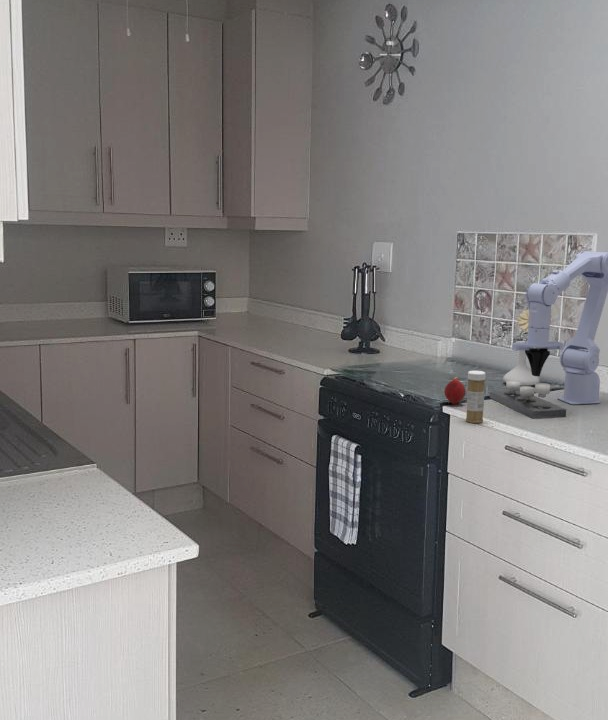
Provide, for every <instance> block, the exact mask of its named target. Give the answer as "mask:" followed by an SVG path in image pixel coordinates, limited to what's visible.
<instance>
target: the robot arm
mask: <svg viewBox="0 0 608 720" xmlns="http://www.w3.org/2000/svg"><path fill="white" fill-rule="evenodd" d="M580 275H581V277H582V279H583V280H584V281H586V282H587V283H588V285H589V286H588V287H589V288H588V290H587V295H586V297H585V302H584V305H583V308H582V310H581V311H582V312H581V314H580V316H581V317H580V319H579V322H578V326H577V328H576V332H575V336H574V337H573V338H571V339H569V340H568V341H566V342H565V346H564V342H561V341H550V330H551V329H550V326H551V316H552V315H551V313H552V312H551V311H552V305H554V304H555V303H556V300H557V298H558V296H559V295H560V294H561V293H562V292H564V291H565V290H566V289H569V287H570V285H571V281H572V280H574V279H576V278H577V277H578V276H580ZM607 295H608V251H607V252H604V251H589V250H581V251H579V252H578V253H577V254H575V258H574V260H573V261H572V262H570V264H569V265H567V266H566V267H565V268H564V269H563V270H560V269H557V270H556V269H553V271H551V273H550V274H549V275H548V276H547V277H545V278H543V279H541V281H540V282H533V283H532V284H531V285H528V287H527V289H526V292H525V300H526V303H527V309H529V323H528V332H527V338H528V339H527V342H521V343H515V342H512V344H511V351H515V352H519V350H525V353H526V358H527V359H528V362H529V363H528V364H529V366H530V370H531V372H532V375H533V376H538V377H540V376H541V373H542V370H543V367H544V365H545V363H546V361H547V359H548V358H549V356H550V355H551V351H550V350H552V351H553V350H558V351H559V350H561V353H560V356H559V362H560V366H561V367H562V368H563V371H564V372H565V373H564V386H563V387H564V388H563V396H557V399H558V400H560V401H561V402H565V403H567V404H570V405H573V406H574V405H589V404H600V403H601V401H600V400H599V399H600V387H601V378H600V375H599V374H598V373H597V372H596V370H597V369H598V367H599V363H600V353H601V352H600V351H601V349H600V347H599V346H598V345H597V344H596V343H595V341H594V340H595V337H596V335H597V331H598V327H599V323H600V321H601V316H602V314H603V310H604V306H605V303H606V298H607Z"/></svg>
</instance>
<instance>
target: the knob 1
mask: <svg viewBox="0 0 608 720" xmlns="http://www.w3.org/2000/svg"><path fill="white" fill-rule="evenodd" d="M505 383H506V384H505V385H506V386H505V387H506V388H505V389H506V391H509V390H510V391H509V393H510V394H516V392H517V391H519V390H520V387H521V386H520V384H521V382H519V381H507V382H505Z"/></svg>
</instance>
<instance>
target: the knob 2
mask: <svg viewBox="0 0 608 720" xmlns="http://www.w3.org/2000/svg"><path fill="white" fill-rule="evenodd" d="M534 388H535V391H534V394H537V395H538V396H537V397H538V398H541V399H543V398H547V397H546V395H549V394H551V384H549V383H544V382H539V383H536V384H535V385H534Z"/></svg>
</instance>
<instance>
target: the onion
mask: <svg viewBox="0 0 608 720" xmlns="http://www.w3.org/2000/svg"><path fill="white" fill-rule="evenodd" d="M465 396H466V388H465V385H464V384H463V383H462V382H461V381H460V380H459V377H458V376H456V377H454V378H452V380H451V381H449V382H448V383H447V385H446V386H445V388H444V397H445V398H446V399H447V401H449V402H450V403H451V404H452V405H457V404H458V403H460V402H461V401H462V400H463V399H464V398H465Z"/></svg>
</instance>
